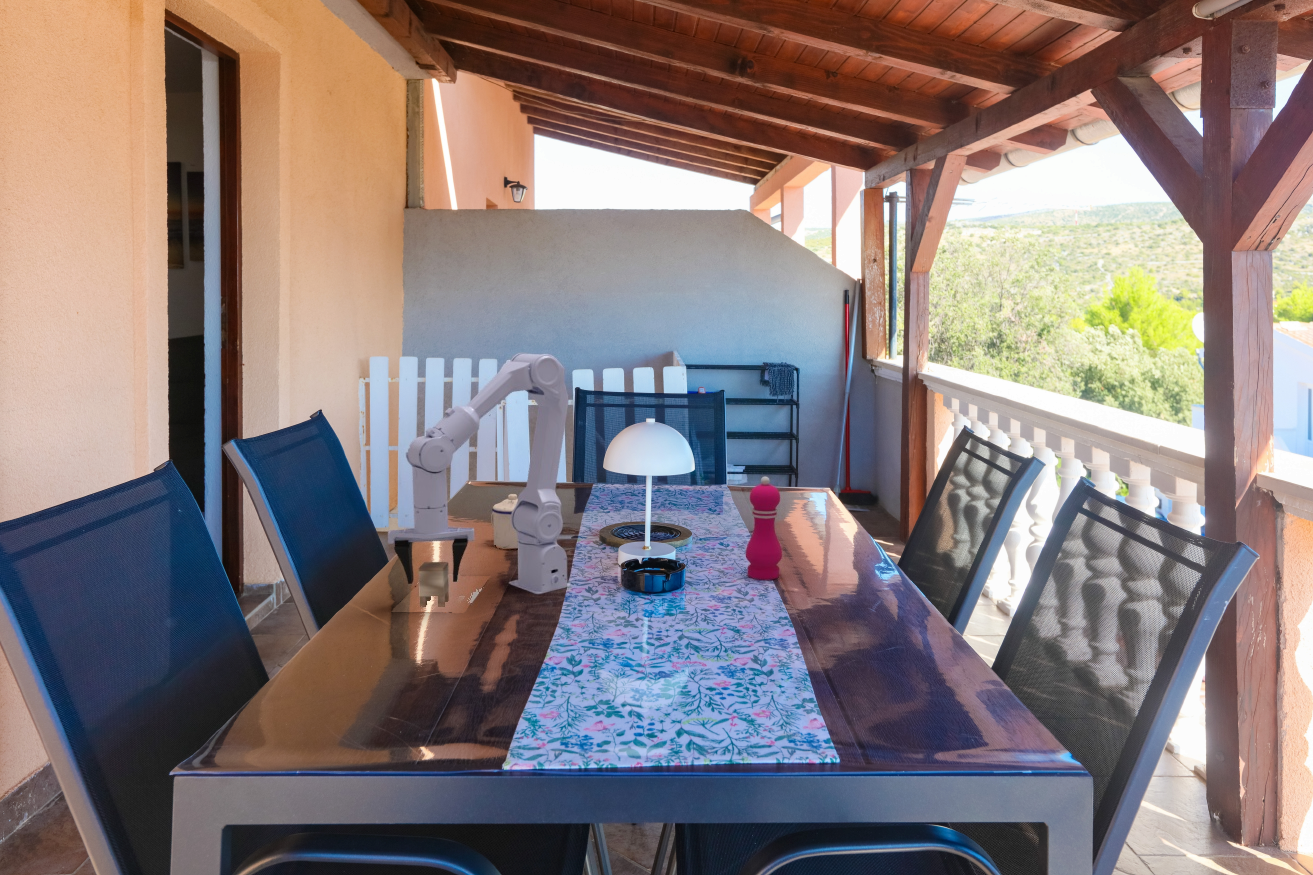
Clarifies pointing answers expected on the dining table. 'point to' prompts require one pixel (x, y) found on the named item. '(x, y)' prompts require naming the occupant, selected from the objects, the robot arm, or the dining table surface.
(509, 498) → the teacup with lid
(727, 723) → the dining table surface
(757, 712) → the dining table surface
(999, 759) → the dining table surface
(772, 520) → the pepper mill
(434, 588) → the beige notched block
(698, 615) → the dining table surface
